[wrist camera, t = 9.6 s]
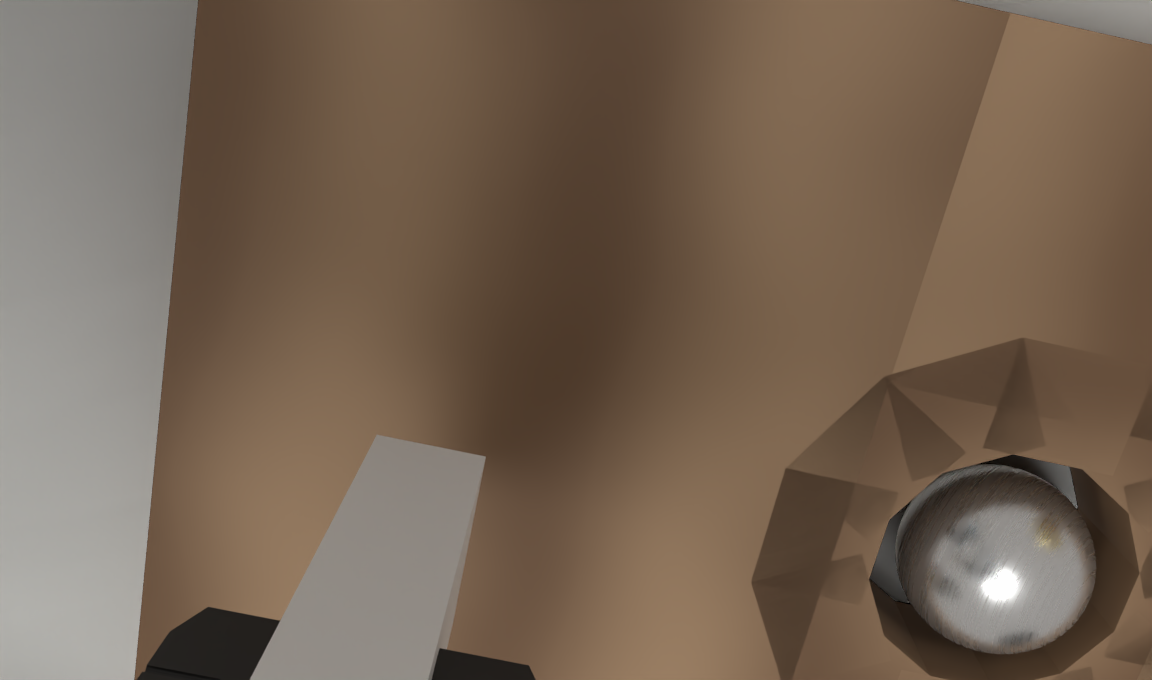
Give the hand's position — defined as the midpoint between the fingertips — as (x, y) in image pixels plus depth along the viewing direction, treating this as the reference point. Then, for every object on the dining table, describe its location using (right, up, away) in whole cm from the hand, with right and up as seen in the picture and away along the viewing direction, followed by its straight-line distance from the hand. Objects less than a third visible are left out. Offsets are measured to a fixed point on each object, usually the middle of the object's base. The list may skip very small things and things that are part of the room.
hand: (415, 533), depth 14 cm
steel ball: (+10, -1, +5) cm, 11 cm away
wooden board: (+6, 0, +6) cm, 9 cm away
